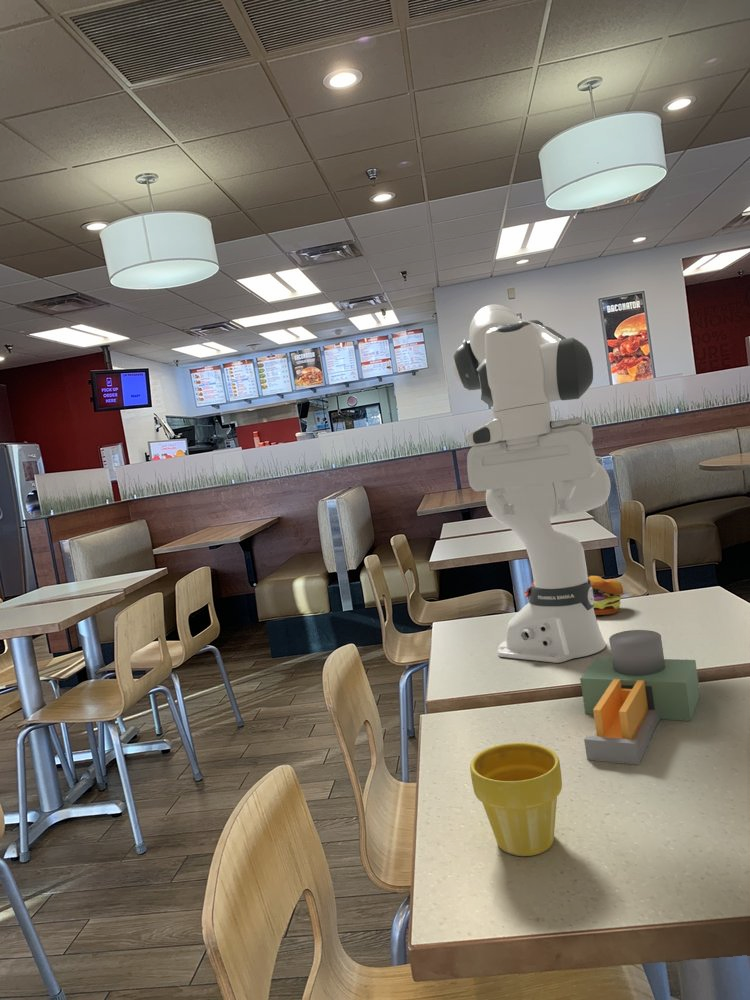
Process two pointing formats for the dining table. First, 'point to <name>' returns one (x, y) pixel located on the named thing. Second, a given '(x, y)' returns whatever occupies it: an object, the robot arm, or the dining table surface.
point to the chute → (621, 711)
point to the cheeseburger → (606, 595)
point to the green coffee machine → (665, 687)
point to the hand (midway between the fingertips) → (536, 513)
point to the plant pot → (519, 794)
